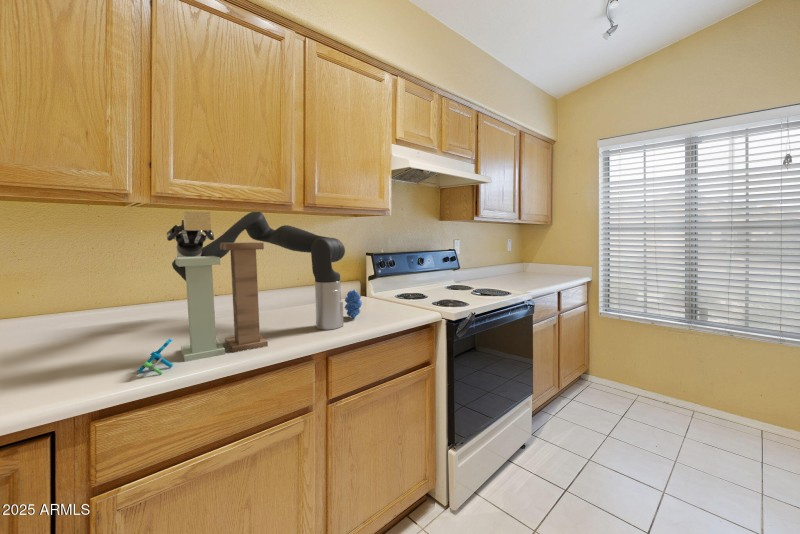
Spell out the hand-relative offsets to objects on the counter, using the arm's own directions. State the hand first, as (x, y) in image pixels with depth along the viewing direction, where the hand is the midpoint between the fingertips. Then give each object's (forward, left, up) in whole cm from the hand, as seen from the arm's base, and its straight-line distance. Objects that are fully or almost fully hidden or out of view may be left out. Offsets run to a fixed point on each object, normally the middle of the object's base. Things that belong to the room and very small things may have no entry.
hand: (192, 221), depth 107 cm
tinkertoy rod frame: (+12, +18, -39) cm, 45 cm away
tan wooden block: (0, +4, -3) cm, 5 cm away
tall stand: (-12, +9, -39) cm, 42 cm away
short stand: (0, +9, -39) cm, 40 cm away
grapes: (-57, -2, -39) cm, 69 cm away
